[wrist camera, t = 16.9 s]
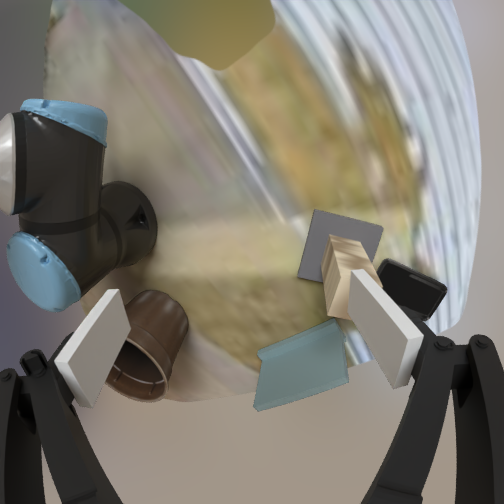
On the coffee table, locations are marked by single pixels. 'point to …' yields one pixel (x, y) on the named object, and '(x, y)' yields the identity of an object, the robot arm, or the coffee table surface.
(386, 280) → the phone
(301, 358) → the standing board
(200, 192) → the coffee table surface
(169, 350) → the plant pot
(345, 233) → the charcoal mat
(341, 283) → the tall tan block
